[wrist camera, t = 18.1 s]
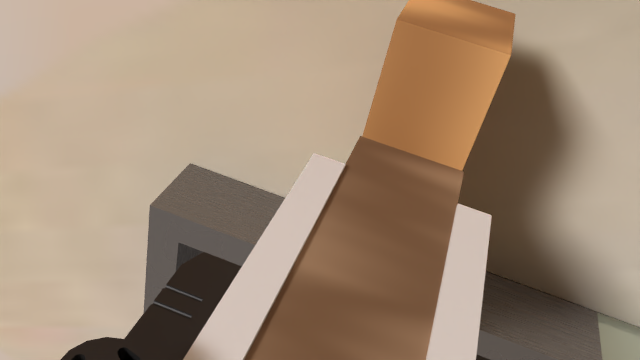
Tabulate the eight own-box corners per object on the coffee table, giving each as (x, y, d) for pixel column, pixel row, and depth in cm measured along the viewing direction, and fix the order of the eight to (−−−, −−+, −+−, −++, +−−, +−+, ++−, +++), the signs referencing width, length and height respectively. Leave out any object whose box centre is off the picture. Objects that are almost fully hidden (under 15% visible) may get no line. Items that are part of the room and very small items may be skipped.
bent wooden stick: (517, 14, 15) (469, 518, 4) (414, 262, 20) (278, 780, 9) (417, -17, 15) (154, 386, 5) (340, 235, 20) (128, 705, 10)
